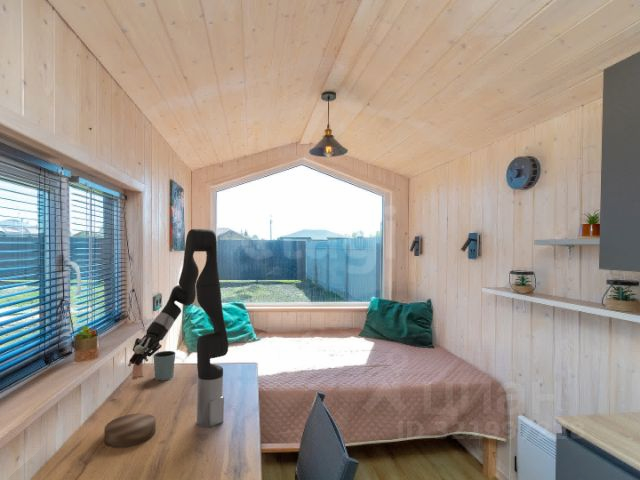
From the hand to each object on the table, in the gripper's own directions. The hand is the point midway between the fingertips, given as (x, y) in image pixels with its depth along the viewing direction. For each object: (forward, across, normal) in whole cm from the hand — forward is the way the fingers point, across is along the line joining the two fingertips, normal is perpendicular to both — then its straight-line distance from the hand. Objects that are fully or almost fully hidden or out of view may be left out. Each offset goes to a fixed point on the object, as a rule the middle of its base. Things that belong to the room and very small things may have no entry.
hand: (133, 363), depth 144 cm
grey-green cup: (-10, -23, +38) cm, 46 cm away
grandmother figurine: (+3, 0, +6) cm, 6 cm away
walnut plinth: (+21, +12, +8) cm, 26 cm away
